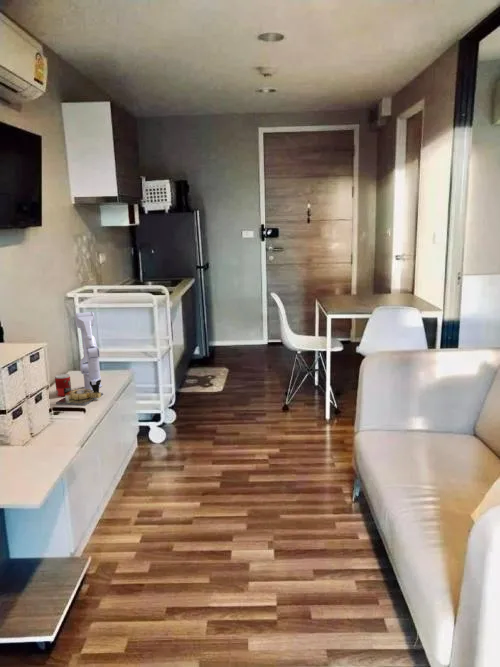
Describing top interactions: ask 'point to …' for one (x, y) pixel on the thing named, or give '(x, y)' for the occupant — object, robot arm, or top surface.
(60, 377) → the canned food
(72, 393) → the handled octagonal ring
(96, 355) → the robot arm
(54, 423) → the top surface
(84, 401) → the flange plate
